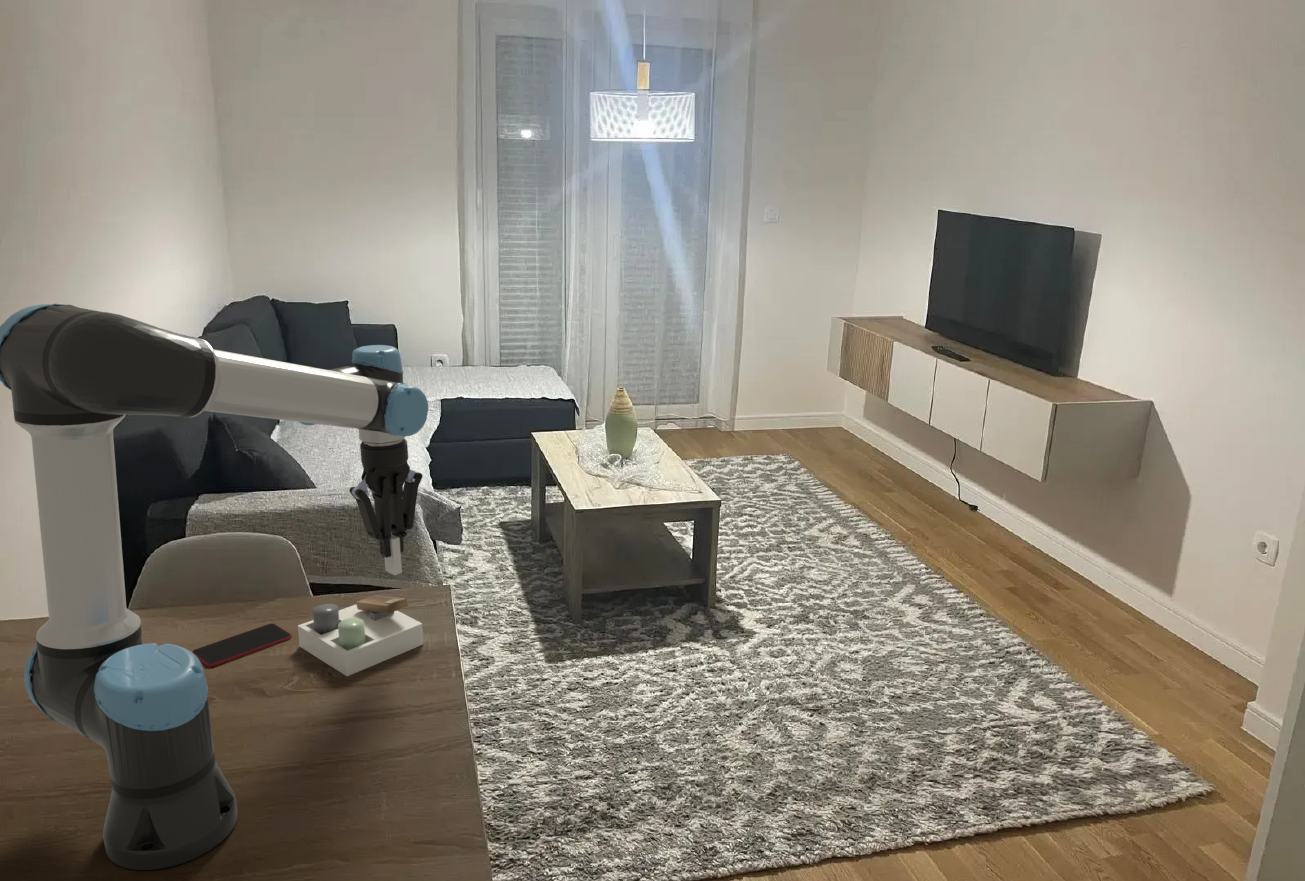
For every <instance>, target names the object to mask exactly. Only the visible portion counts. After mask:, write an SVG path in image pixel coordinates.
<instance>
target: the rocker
mask: <svg viewBox="0 0 1305 881" xmlns="http://www.w3.org/2000/svg"><path fill="white" fill-rule="evenodd" d="M356 604H357V609H358V610H365V611H372V612H379V613H386V614H389V613H392V612H394V611H399V610H401V609H405V608H407V607H408V606H409V605H408V600H407V598H406V597H405V598H404V597H397V596H388V595H379V594H374V595H371V596H368V597H365V598H363V599H360V600H358V601H356ZM356 604H355V605H356Z"/></svg>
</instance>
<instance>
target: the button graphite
mask: <svg viewBox="0 0 1305 881" xmlns="http://www.w3.org/2000/svg"><path fill="white" fill-rule="evenodd" d="M339 610H340V609H339V606H338V605H337V604H334V603H324V604H323V603H322V604H320V605H317V606H315V607H314V608H313V609H312V618H313V619H312V620H313V621H314V631H315V632H317V633H319V634H320V635H323V634H325V633H328V632H331V631H333V630H336V629H338V624H339V623H340V622H339Z"/></svg>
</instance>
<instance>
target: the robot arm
mask: <svg viewBox="0 0 1305 881" xmlns="http://www.w3.org/2000/svg"><path fill="white" fill-rule="evenodd" d="M351 356H352V359H351V364H348V365H346V366H342V367H335V368H332V369H331V368H330V369H323V368H318V367H313V366H308V365H302V364H297V363H291V362H286V361H285V362H284V361H280V360H274V359H270V358H264V357H257V356H253V355H246V354H241V353H235V352H230V351H225V350H220V349H214V348H213V347H212V346H211V344H210V343H209V342H208V341H207V340H205V339H204V338H203V339H202V338H200V337H195V336H189V335H187V334H181V333H177V332H174V331H171V330H168V329H164V328H161V327H158V326H155V325H152V324H149V323H146V322H143V321H140V320H137V319H134V318H131V317H127V316H125V315H122V314H119V313H118V314H117V313H112V312H106V311H98V310H94V309H87V308H83V307H79V306H76V305H73V304H59V303H51V304H49V303H43V304H36V305H35V304H34V305H31V306H30V305H29V306H27V307H24V308H22V309H20V310H18V311H16V312H14V313H13V314H11V315H10V316H9V317H8V318H6V320H5V321H4V322H3V323H2V324H1V325H0V382H1V384H2V385H3V386H4V387H5V388H7V389H8V390H10V391H11V399H12V400H11V401H12V408H13V419H14V423H15V424H16V425H18V426H19V427H20V428H22V429H23V430H24V431H26V432H27V433H28V434H29V435H30V437H31V445H32V446H31V447H32V455H33V456H32V457H33V468H34V478H35V487H36V497H37V507H38V519H39V520H38V521H39V530H40V538H41V539H40V540H41V549H42V551H41V552H42V558H43V559H42V561H43V571H44V579H45V580H44V582H45V590H46V601H47V602H46V603H47V612H48V619H47V621H46V622H45V623H44V624H43V625H41V627H40V628H39V629H38V630H37V632H36V638H35V639H36V645H35V646H34V650H33V652H32V653H30V654H29V656H28V657H27V659H26V663H25V666H24V672H23V679H24V680H23V681H24V686H25V690H26V694H27V696H28V697H29V699H30V700H31V702H32V703H33V704H34V705H35V706H36V707H37V708H39V710H40V711H41V712H42V713H43V714H44V715H45V716H46V717H48V718H49V719H51V720H53V721H56V722H58V723H59V724H61V725H64V726H65V727H67V728H69V729H70V730H73V731H74V732H76V733H78V734H80V735H81V736H83V737H85V738H86V739H88V740H91V741H92V742H94V743H96V744H97V745H98V746H100V747H102V748H103V749H104V752H105V754H106V758H107V766H108V770H109V771H108V772H109V777H110V782H111V784H110V785H111V794H110V798H109V803H108V805H107V812H106V815H105V820H104V825H103V828H102V836H103V845H104V850H105V854H106V856H107V857H108V859H109V860H110V861H111V862H112V863H114V864H116V865H117V866H120V867H122V868H125V869H129V870H137V871H150V870H160V869H162V870H163V869H165V868H171V867H175V866H178V865H179V866H180V865H182V864H185V863H187V862H189V861H193V860H194V859H196V858H198V857H201V856H202V855H204V854H207V853H208V852H209V851H211V850H213V849H214V848H215V847H217V846H218V845H219V844H221V843H222V842H223V841H224V840H225V839H226V838H227V837H228V836H229V835H230V834H231V833H232V831H233V830H234V828H235V826H236V824H237V820H238V817H239V816H238V815H239V814H238V806H237V805H238V804H237V799H236V795H235V792H234V791H233V788H232V787H231V785H230V783H229V782H228V780H227V779H226V777H225V775H224V774H223V772H222V770H221V769H220V767H219V764H218V763H217V761H216V760H217V759H216V754H215V745H214V737H213V729H212V722H211V721H212V720H211V713H210V706H209V705H210V704H209V697H208V694H209V686H208V681H207V678H206V676H205V672H204V668H203V663H202V662H201V661H199V659H198V658H197V657H196V655H194V654H193V653H192V651H191V650H189V649H187V648H185V647H183V646H181V645H176V644H172V643H163V644H161V645H158V644H157V643H156V642H153V643H152V642H151V643H143V633H142V632H143V631H142V622H141V617H140V616H139V615H138V614H136V613H135V612H134V611H131V610H130V609H129V608H127V600H126V598H127V596H126V586H125V584H126V583H125V572H124V559H123V548H122V545H123V544H122V534H121V521H120V508H119V494H118V482H117V470H116V468H117V467H116V466H117V465H116V457H115V456H116V454H115V443H114V442H115V441H114V440H115V439H114V429H115V427H117V425H118V424H120V422H122V420H123V419H125V417H126V415H129V416H130V415H136V416H137V415H138V416H167V417H180V418H194V417H197V416H199V415H200V414H201V413H203V412H212V413H218V414H219V413H220V414H222V413H223V414H229V415H236V416H237V415H238V416H244V417H245V416H246V417H254V418H264V419H271V420H279V421H280V420H281V421H289V422H299V423H300V424H302V425H305V426H315V425H323V426H332V427H341V428H348V429H349V428H350V429H357V430H358V438H359V440H360V441H361V443H360V444H359V448H360V450H359V451H360V461H361V462H360V463H361V464H362V468H363V469H362V470H363V471H362V473H361V474H362V475H361V478H360V479H361V481H360V482H359V483H358V484H357V486H351V487H350V488H349V493H350V495H351V496H352V497H353V498H354V499H355V501H356V504H357V507H358V510H359V513H360V516H361V519H362V522H363V524H364V527H365V531H366V535H367V536H368V537H370V538H373V539H375V540H377V541H378V543H379V553H380V555H381V556H382V557H383V558H384V566H385V567H384V570H385V572H386V573H389V574H391V575H393V576H396V575H400V574H403V567H402V554H401V553H403V552H404V550H405V547H404V546H405V544H404V538H405V537H406V536H407V535H408V532H406V531H408V530H412V529H413V527H414V521H415V513H416V504H417V500H418V498H417V497H418V491H419V487H420V484H421V481H422V479H423V474H422V473H421V472H418V471H416V470H414V469H411V467H410V465H409V464H408V460H409V450H408V448H409V446H408V440H406V437H410V436H414V435H416V434H417V433H419V431H421V429H423V427H424V426H425V424H426V422H427V419H428V414H429V402H428V399H427V396H426V395H425V393H424V392H423V390H421V389H420V388H419V387H417V386H414V385H409V384H408V383H405V382H404V371H403V365H402V359H401V358H402V357H401V353H400V351H399V349H398V348H396V347H394V346H391V345H385V344H372V345H363V346H359V347H357V348H355V349H353V350H352V354H351ZM368 489H369V490H368ZM369 491H371V495H372V496H371V497H372V499H373V502H374V507H373V503H372V500H371V498H370V497H369V495H370V492H369ZM381 556H380V557H381Z"/></svg>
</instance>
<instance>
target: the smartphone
mask: <svg viewBox="0 0 1305 881" xmlns="http://www.w3.org/2000/svg"><path fill="white" fill-rule="evenodd" d="M292 635H293V634H292V633H290V632H288V631H286V630H285V629H283V628H282V627H280V626H279V625H277V624H275V623H268V624H265V625H261V626H259V627H256V628H253V629H251V630H248V631H244V632H242V633H238V634H236V635H233V636H230V637H226V638H224V639H221V640H219V641H215V642H212V643H210V644H207V645H204V646H201V647H198V648H195V649H193V650H192V651H191V652H192V653H193V654H194V655H196V657H197V658H198V659H199V661H200V662H201V664H202V665H205V666H206V667H207V668H215V667H218V666H220V665H223V664H225V663H228V662H231V661H235V660H236V659H239V658H242V657H245V656H247V655H250V654H254V653H256V652H259V651H262V650H264V649H267V648H269V647H273V646H275V645H278V644H281V643H283V642H286V641H289V640H290V639H292V637H293V636H292Z"/></svg>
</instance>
